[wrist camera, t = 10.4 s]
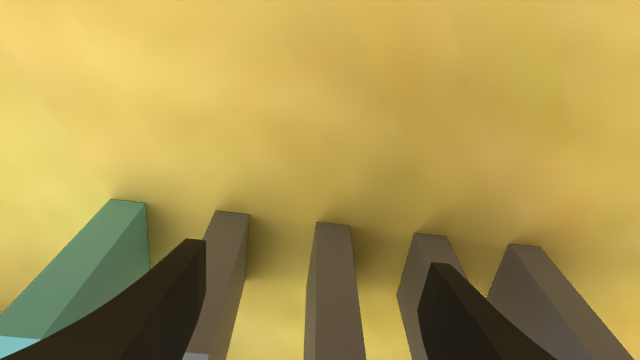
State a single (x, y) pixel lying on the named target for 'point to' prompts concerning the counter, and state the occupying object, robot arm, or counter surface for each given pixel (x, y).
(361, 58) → the counter surface
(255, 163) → the counter surface
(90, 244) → the teal domino
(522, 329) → the domino
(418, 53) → the counter surface
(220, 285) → the domino
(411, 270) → the domino
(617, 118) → the counter surface
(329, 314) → the domino
